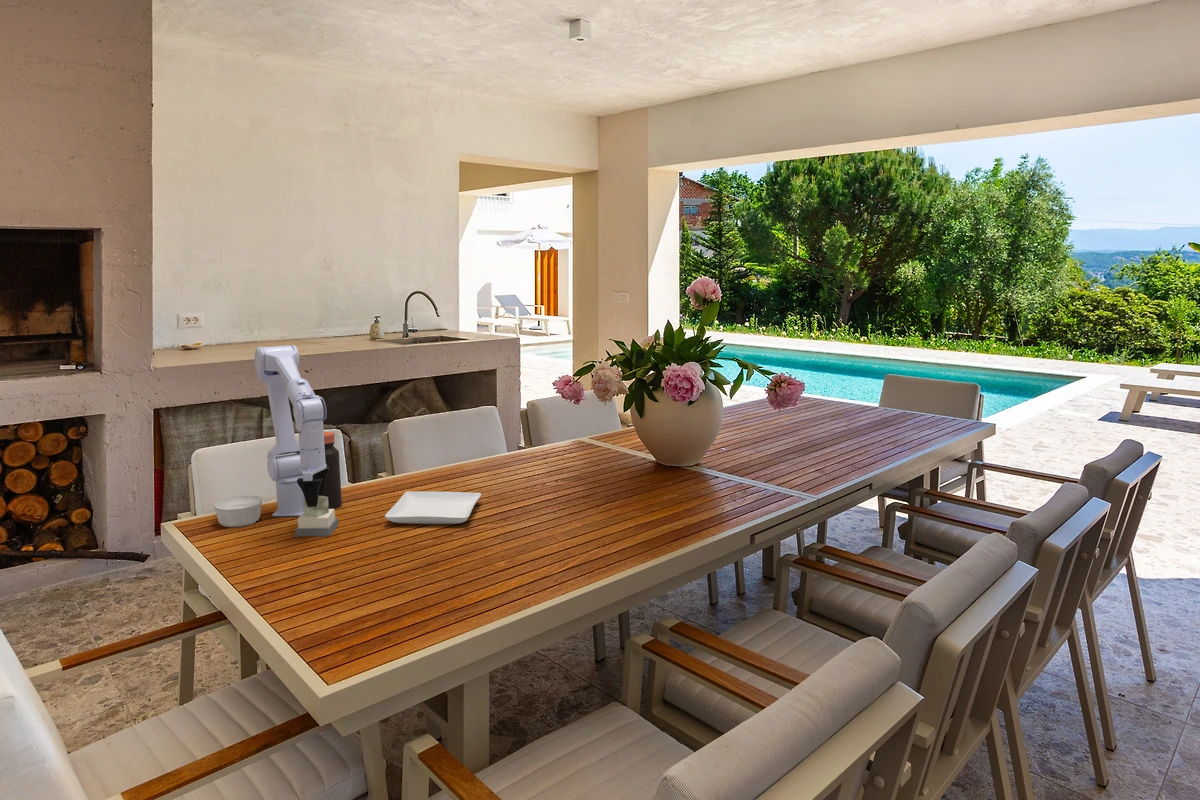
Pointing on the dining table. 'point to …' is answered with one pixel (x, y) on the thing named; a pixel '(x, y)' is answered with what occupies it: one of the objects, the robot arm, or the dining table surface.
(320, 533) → the charcoal slab
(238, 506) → the ramekin
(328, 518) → the cream slab
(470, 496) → the salad plate
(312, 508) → the sage cube
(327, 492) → the bottle
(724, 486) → the dining table surface
